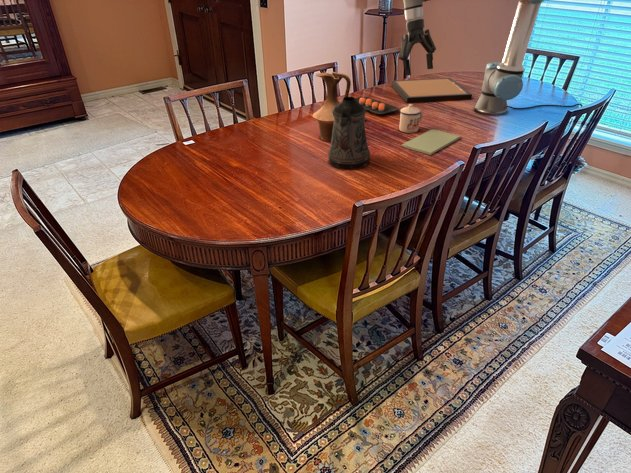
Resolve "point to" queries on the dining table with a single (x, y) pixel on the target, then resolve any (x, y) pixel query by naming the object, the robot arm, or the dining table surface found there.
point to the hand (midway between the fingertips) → (419, 72)
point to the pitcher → (329, 103)
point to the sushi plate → (375, 106)
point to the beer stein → (348, 136)
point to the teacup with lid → (410, 119)
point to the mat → (431, 141)
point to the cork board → (430, 90)
